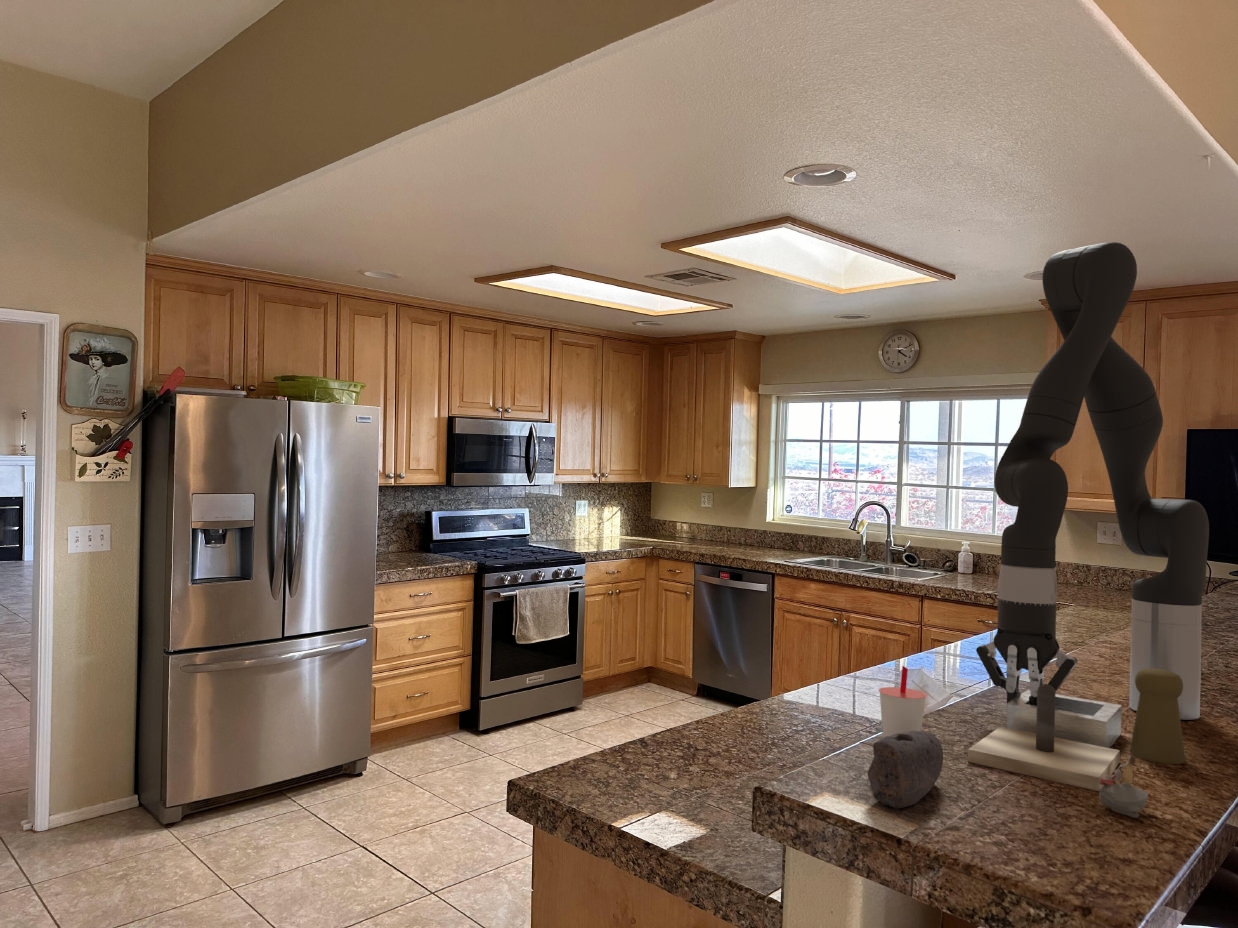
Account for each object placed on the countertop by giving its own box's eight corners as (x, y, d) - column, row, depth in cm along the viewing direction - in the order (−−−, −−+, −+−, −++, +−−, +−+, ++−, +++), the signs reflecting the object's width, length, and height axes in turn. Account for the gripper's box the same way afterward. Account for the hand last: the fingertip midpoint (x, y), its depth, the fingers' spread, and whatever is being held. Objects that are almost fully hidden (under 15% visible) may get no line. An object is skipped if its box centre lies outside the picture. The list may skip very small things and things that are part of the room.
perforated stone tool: (914, 774, 97) (916, 713, 97) (960, 786, 93) (962, 723, 94) (854, 807, 86) (856, 738, 86) (904, 822, 82) (906, 751, 83)
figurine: (1144, 824, 84) (1146, 764, 84) (1094, 813, 87) (1096, 754, 87) (1150, 810, 88) (1151, 752, 89) (1102, 799, 91) (1103, 743, 91)
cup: (921, 764, 100) (924, 663, 101) (927, 779, 95) (930, 672, 96) (874, 759, 102) (877, 659, 102) (878, 773, 96) (881, 668, 97)
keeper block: (999, 737, 113) (1001, 666, 113) (1119, 762, 104) (1121, 685, 105) (968, 761, 102) (970, 682, 103) (1098, 790, 93) (1100, 704, 94)
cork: (1194, 765, 104) (1196, 676, 105) (1140, 760, 105) (1142, 672, 106) (1172, 751, 110) (1174, 666, 110) (1122, 746, 111) (1124, 663, 112)
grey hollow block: (1027, 716, 125) (1028, 689, 125) (1120, 733, 117) (1121, 705, 117) (1005, 732, 116) (1006, 703, 116) (1105, 752, 108) (1106, 721, 108)
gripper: (1086, 601, 119) (1083, 725, 118) (984, 590, 127) (981, 706, 127) (1075, 605, 113) (1072, 736, 112) (969, 594, 122) (965, 715, 121)
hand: (1023, 719), depth 120 cm, fingers closed on grey hollow block
